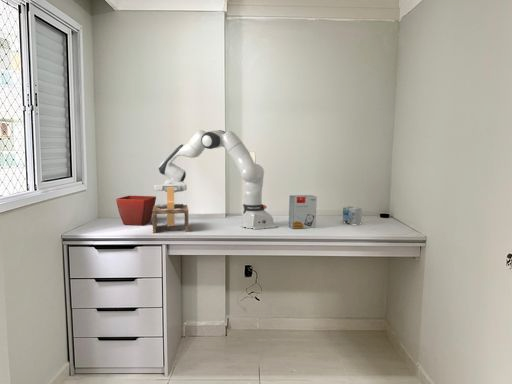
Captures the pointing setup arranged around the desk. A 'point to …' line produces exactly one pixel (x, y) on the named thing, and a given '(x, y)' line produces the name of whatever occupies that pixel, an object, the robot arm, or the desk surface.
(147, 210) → the plant pot
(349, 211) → the light bulb box
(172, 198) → the tall tan upright block
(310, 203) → the hard drive box
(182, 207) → the tan rectangular frame
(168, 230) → the desk surface
